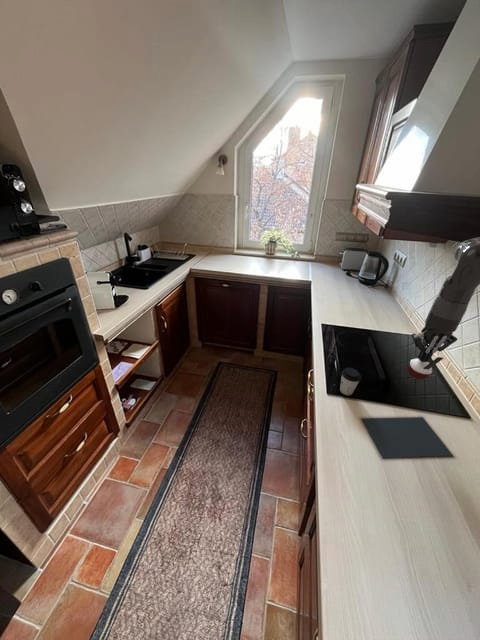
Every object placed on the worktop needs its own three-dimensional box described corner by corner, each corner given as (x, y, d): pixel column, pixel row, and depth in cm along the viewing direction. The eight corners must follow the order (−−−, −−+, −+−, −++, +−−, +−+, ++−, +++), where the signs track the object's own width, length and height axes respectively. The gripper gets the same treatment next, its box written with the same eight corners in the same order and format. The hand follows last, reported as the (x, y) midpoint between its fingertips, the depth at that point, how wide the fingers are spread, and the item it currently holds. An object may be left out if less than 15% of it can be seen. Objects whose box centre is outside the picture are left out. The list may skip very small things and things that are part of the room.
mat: (422, 418, 89) (422, 417, 89) (452, 456, 77) (453, 455, 77) (361, 419, 88) (361, 418, 88) (382, 458, 76) (382, 457, 76)
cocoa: (405, 365, 89) (418, 337, 83) (426, 371, 86) (440, 342, 80) (406, 382, 82) (420, 352, 76) (428, 389, 79) (445, 359, 73)
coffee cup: (358, 392, 99) (365, 372, 94) (350, 401, 95) (356, 381, 90) (342, 382, 103) (348, 363, 98) (333, 390, 99) (338, 371, 94)
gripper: (432, 318, 68) (409, 368, 77) (480, 319, 69) (452, 368, 78) (415, 306, 75) (395, 353, 84) (458, 306, 75) (435, 353, 84)
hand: (422, 360), depth 81 cm, fingers closed on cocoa, 1 cm apart
